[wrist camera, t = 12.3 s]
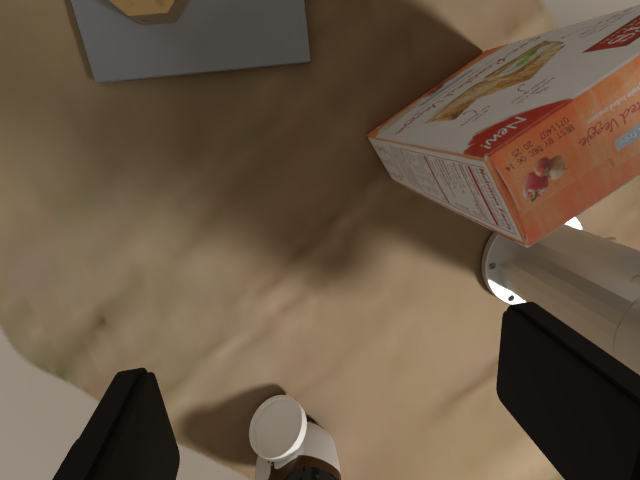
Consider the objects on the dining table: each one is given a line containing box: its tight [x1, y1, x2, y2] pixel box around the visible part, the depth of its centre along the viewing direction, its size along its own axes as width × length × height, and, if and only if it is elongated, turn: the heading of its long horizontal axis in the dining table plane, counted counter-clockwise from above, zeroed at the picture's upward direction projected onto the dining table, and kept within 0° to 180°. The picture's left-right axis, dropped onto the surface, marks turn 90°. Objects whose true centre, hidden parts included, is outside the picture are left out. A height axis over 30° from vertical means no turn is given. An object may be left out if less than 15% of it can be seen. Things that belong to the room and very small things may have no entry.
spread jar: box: [249, 395, 341, 480], centre depth 41 cm, size 12×11×12 cm
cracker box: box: [367, 5, 640, 248], centre depth 26 cm, size 14×6×21 cm, turn 124°
